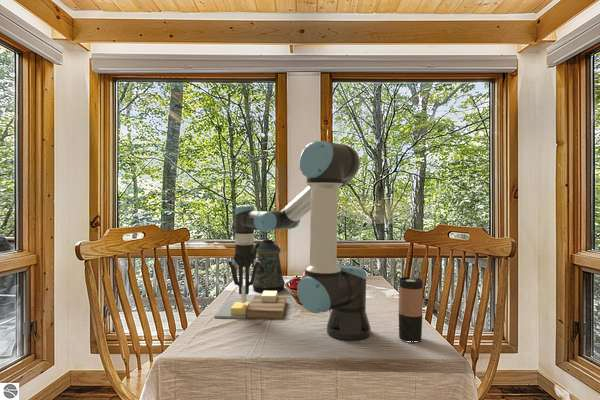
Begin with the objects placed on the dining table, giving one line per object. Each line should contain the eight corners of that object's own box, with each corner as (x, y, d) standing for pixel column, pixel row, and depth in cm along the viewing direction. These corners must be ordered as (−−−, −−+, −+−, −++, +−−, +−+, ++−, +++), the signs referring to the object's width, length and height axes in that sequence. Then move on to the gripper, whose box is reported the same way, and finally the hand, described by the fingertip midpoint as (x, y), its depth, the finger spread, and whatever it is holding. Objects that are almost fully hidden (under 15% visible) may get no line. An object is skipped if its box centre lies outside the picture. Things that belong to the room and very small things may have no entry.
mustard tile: (245, 314, 148) (245, 308, 148) (230, 314, 148) (230, 308, 148) (249, 308, 157) (249, 302, 157) (235, 307, 157) (235, 301, 157)
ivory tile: (275, 302, 158) (275, 296, 158) (261, 301, 158) (261, 295, 158) (277, 296, 167) (277, 290, 167) (263, 296, 167) (263, 290, 167)
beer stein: (281, 294, 183) (281, 242, 183) (242, 292, 186) (242, 241, 186) (287, 286, 199) (288, 239, 199) (251, 284, 202) (252, 238, 202)
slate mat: (245, 318, 145) (245, 316, 145) (214, 318, 146) (214, 316, 146) (254, 301, 169) (254, 299, 169) (228, 301, 170) (228, 299, 170)
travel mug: (406, 344, 121) (407, 282, 121) (394, 336, 128) (394, 277, 128) (427, 342, 123) (427, 281, 123) (413, 334, 131) (414, 276, 130)
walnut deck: (282, 318, 146) (282, 310, 146) (246, 317, 146) (246, 310, 146) (286, 302, 168) (286, 295, 168) (255, 302, 168) (255, 295, 168)
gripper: (261, 242, 155) (261, 299, 156) (230, 242, 156) (229, 299, 156) (259, 245, 148) (258, 305, 148) (226, 244, 148) (225, 304, 149)
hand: (243, 302), depth 152 cm, fingers closed
